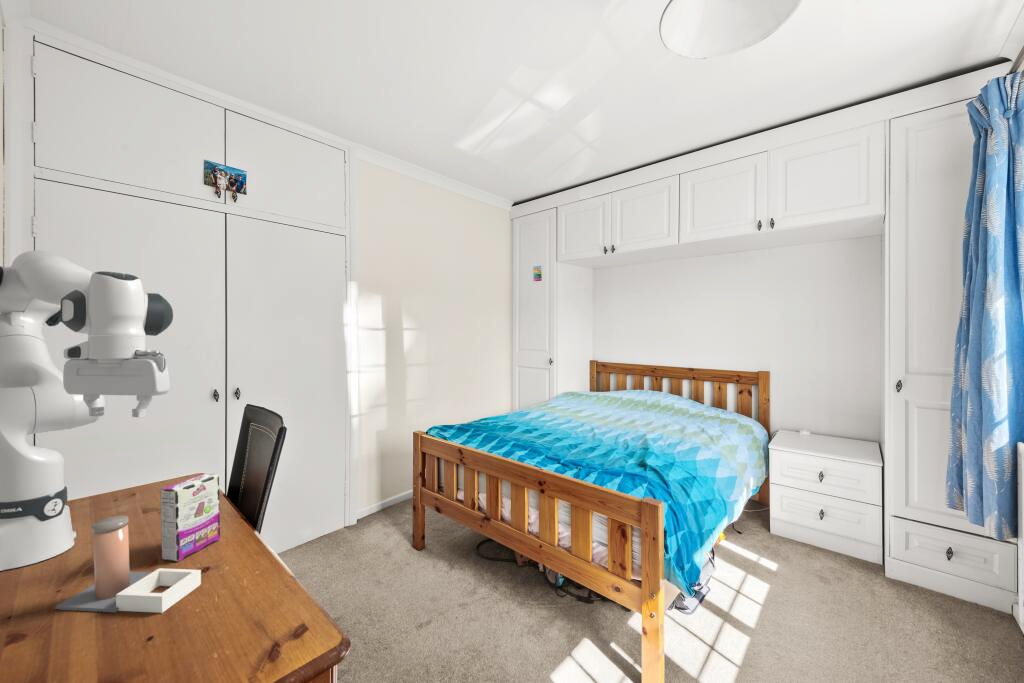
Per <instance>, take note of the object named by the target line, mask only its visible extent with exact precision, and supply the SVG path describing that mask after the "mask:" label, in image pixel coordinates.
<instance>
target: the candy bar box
mask: <svg viewBox="0 0 1024 683" xmlns="http://www.w3.org/2000/svg"><path fill="white" fill-rule="evenodd" d="M220 512H221V511H220V475H219V474H211V473H203V474H199V475H197V476H194V477H191V478H188V479H186V480H183V481H180V482H178V483H175V484H172V485H169V486H165V487H163V488H161V489H160V520H161V523H160V524H161V526H160V528H161V530H160V531H161V559H162V560H164V561H170V562H171V561H172V562H180V561H183V560H184V559H186V558H188V557H190V556H191V555H193V554H196V553H197V552H199V551H201V550H203V549H205V548H207V547H208V546H210V545H212V544H214V543H216V542H218V541H219V540H220V539H221V526H220V525H221V523H220V522H221V520H220V518H221V516H220ZM217 540H218V541H217Z"/></svg>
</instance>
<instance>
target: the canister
mask: <svg viewBox="0 0 1024 683" xmlns="http://www.w3.org/2000/svg"><path fill="white" fill-rule="evenodd" d="M129 523H130V520H129V516H127V515H115V516H109V517H106V518H102V519H99V520H97V521H95V522H94V523H92V525H91V531H92V540H93V541H92V542H93V544H92V545H93V546H92V547H93V569H94V570H93V573H94V584H95V597H96V599H99V600H103V599H109V598H113V597H116V594H118V593H119V592H121V591H123V590H124V589H126V588H128V587H129V586H130V571H131V570H130V568H131V567H130V542H129Z"/></svg>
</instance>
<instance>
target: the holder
mask: <svg viewBox="0 0 1024 683" xmlns="http://www.w3.org/2000/svg"><path fill="white" fill-rule="evenodd" d="M201 585H202V570H201V569H191V568H190V569H189V568H188V569H185V568H183V569H182V568H161V567H160V568H157V569H155V570H154V571H153V572H152V573H151V574H149V575H147V576H146V577H144V578H142V579H141V580H139V581H137V582H136V583H134V584H133V585H131V586H129V587H128V588H126V589H124V590H123V591H121V592H119V593H118V594H116V607H118V608H119V611H118V612H140V613H154V614H155V613H156V614H158V613H159V614H163V613H164V612H165V611H167V610H168V609H169V608H171V607H172V606H174V605H175V604H177V602H179V601H180V600H182V599H184V598H185V597H186V596H188V594H190V593H191V592H193V591H194V590H195V589H197V588H198V587H200V586H201ZM160 586H161V587H169V588H167V589H166V590H164V591H163V592H153V591H154V590H155V589H156V588H158V587H160Z"/></svg>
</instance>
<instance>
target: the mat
mask: <svg viewBox="0 0 1024 683" xmlns="http://www.w3.org/2000/svg"><path fill="white" fill-rule="evenodd" d="M151 573H152V572H151V571H131V570H130V586H131V585H133V584H134V583H136V582H137V581H139V580H141V579H142V578H144V577H146V576H147V575H149V574H151ZM54 609H59V610H61V611H77V610H78V612H98V611H99V612H100V613H117V612H120V611H119V608H118V607H116V597H113V598H109V599H103V600H99V599H96V597H95V583H93V585H91V586H89V587H87V588H85V589H84V590H82V591H80V592H78V593H76V594H75V595H73V596H71V597H69V598H68V599H66V600H64V601H63V602H61V603H59V604H57V605H55V606H54ZM59 610H58V611H59ZM101 611H102V612H101ZM99 612H98V613H99Z"/></svg>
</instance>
